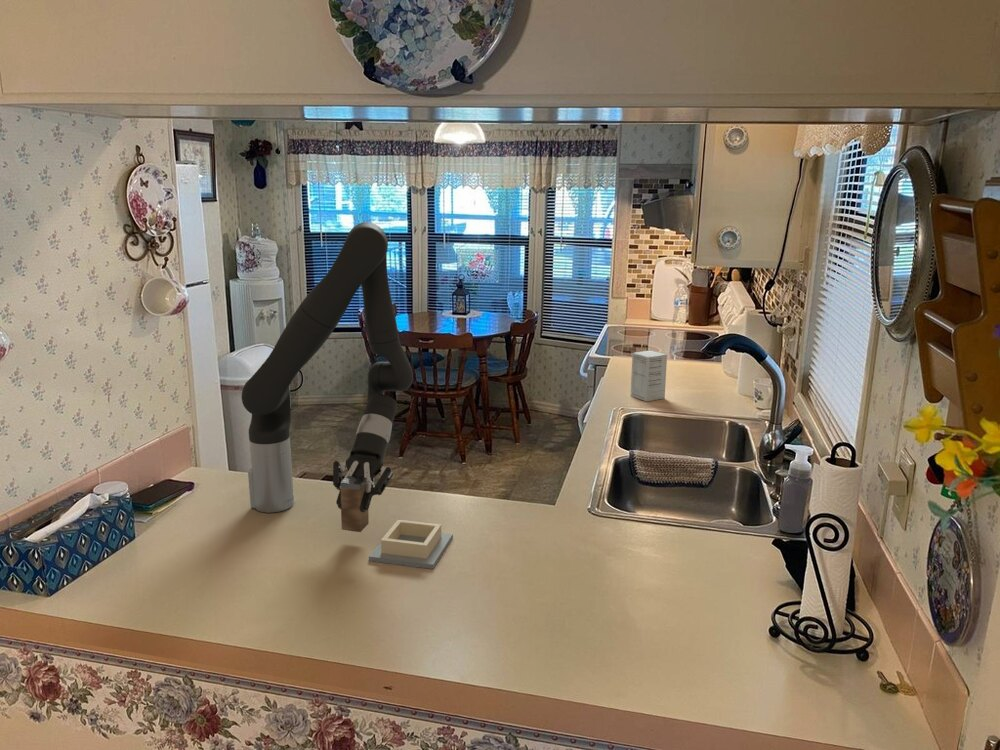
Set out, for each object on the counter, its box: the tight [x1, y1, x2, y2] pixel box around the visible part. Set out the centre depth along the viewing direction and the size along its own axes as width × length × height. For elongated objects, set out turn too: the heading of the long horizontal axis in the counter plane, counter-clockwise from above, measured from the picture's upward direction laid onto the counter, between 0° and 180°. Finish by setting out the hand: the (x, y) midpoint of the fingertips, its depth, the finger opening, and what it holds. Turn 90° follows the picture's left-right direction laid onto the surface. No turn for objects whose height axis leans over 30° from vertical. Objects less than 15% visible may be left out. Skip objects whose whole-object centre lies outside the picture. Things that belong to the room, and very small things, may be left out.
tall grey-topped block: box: [340, 475, 370, 533], centre depth 158 cm, size 4×4×11 cm
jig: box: [368, 519, 454, 570], centre depth 156 cm, size 14×14×4 cm
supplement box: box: [630, 350, 668, 402], centre depth 271 cm, size 10×9×17 cm
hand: (351, 509), depth 157 cm, fingers closed on tall grey-topped block, 4 cm apart
